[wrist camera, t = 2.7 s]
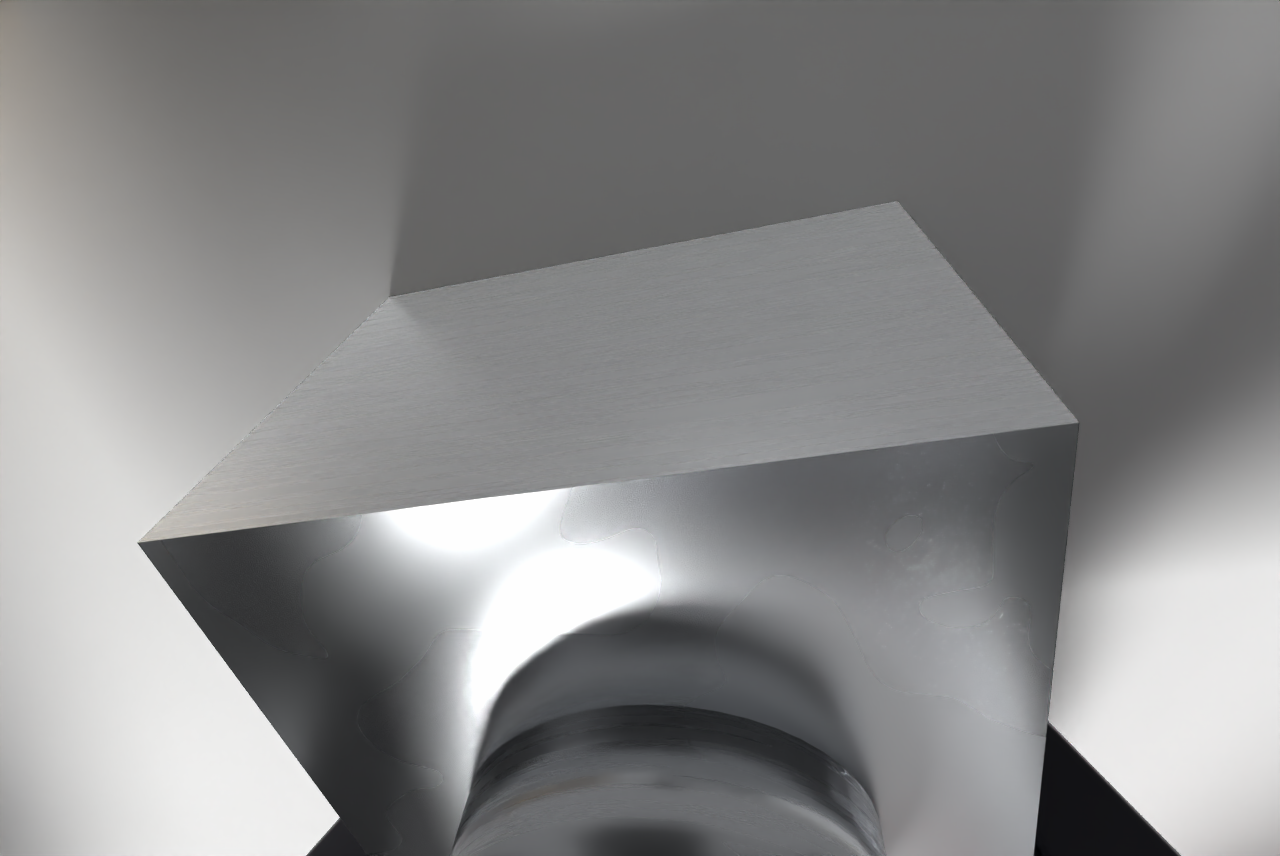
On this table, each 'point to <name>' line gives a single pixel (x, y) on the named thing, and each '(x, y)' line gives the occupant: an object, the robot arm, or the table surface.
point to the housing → (657, 557)
